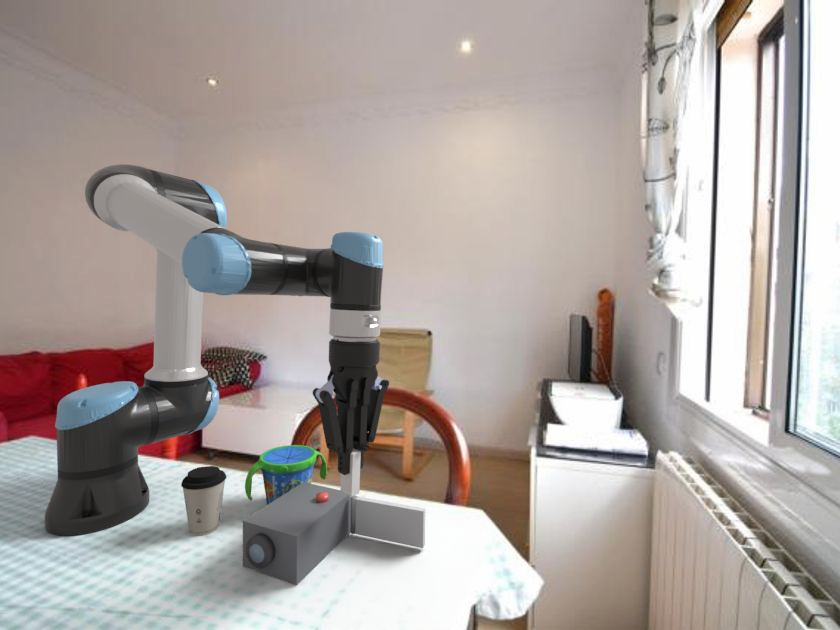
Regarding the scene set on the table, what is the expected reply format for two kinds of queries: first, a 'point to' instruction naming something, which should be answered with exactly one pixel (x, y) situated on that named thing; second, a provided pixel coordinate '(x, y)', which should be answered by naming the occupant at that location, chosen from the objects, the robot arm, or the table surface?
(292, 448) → the snack cup
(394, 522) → the door
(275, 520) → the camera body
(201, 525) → the coffee cup
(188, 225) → the robot arm
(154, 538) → the table surface
